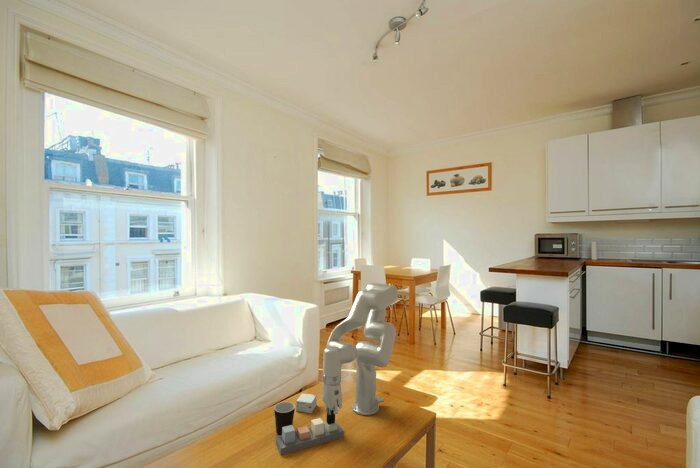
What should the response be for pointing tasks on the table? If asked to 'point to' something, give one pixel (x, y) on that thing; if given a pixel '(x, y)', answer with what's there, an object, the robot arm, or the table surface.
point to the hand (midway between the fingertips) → (330, 422)
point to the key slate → (288, 434)
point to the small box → (306, 403)
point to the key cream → (317, 426)
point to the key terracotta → (303, 433)
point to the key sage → (330, 427)
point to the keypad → (308, 440)
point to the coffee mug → (283, 415)
